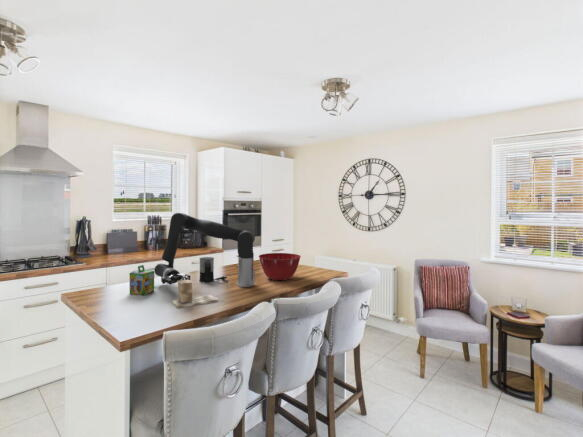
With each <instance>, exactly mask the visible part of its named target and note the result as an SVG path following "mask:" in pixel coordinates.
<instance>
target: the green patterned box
mask: <svg viewBox="0 0 583 437" xmlns="http://www.w3.org/2000/svg"><path fill="white" fill-rule="evenodd" d="M137 269H138V270H135V271H132V272H129V294H130V295H136V296H137V295H139V296H145V295H148V294H150V293H153V292H155V271H154V270H149V269H148V270H147V269H146V268H145V265H144V264H141V265H138V266H137Z"/></svg>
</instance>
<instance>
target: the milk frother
mask: <svg viewBox="0 0 583 437" xmlns="http://www.w3.org/2000/svg"><path fill="white" fill-rule="evenodd" d="M214 260H215V257H212V256H209V257H208V256H204V257H199V280H198V281H199V282H200V283H212V282H214V281H220V280H221V281H226V279H228V277H227V276H221V277H217V278H214V277H215V276H214V273H215V272H214V268H215V265H214V264H215V263H214V262H215V261H214Z"/></svg>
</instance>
